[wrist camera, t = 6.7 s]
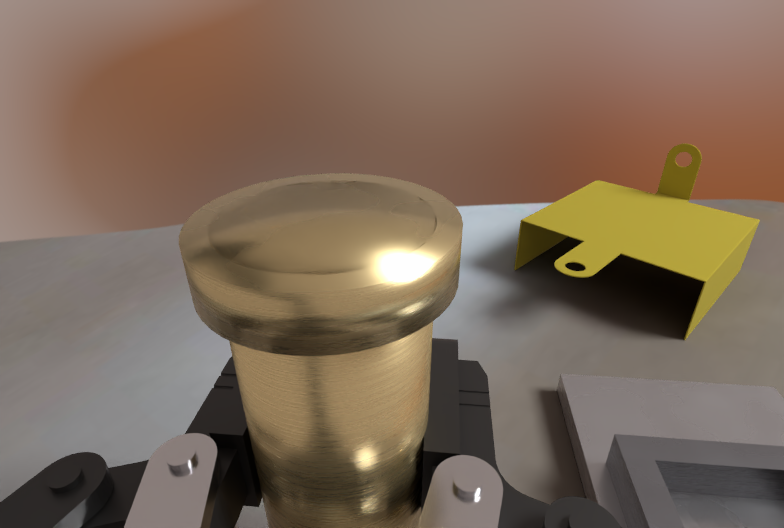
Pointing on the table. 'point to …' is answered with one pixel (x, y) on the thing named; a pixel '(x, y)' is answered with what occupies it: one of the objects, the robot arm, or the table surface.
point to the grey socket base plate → (678, 450)
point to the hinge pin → (329, 335)
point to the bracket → (645, 231)
